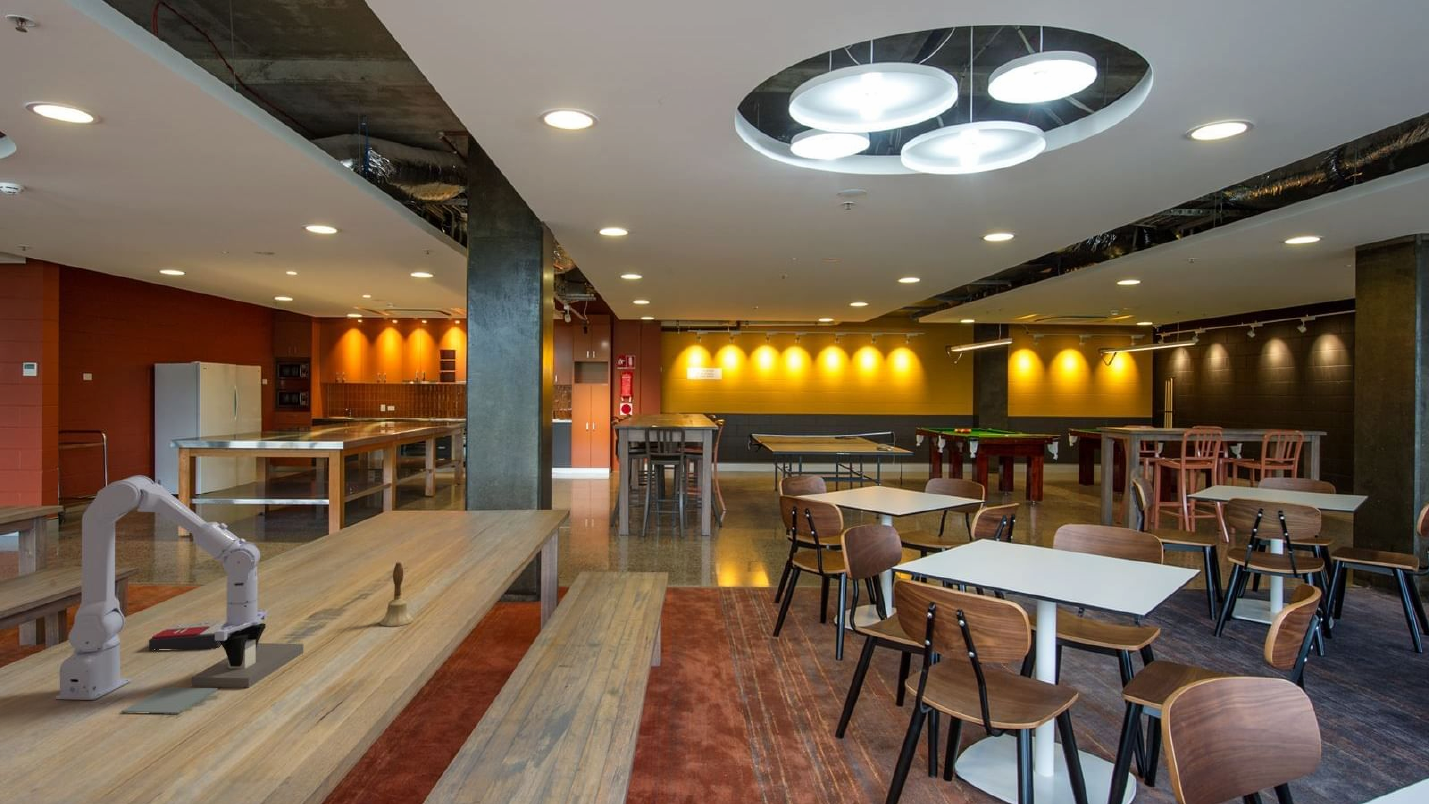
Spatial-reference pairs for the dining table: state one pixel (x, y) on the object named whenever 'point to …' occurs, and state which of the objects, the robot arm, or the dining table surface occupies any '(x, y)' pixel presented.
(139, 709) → the mat
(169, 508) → the robot arm
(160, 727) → the dining table surface
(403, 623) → the hand bell
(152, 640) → the black and red box
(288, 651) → the grey slotted plate
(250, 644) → the plug
